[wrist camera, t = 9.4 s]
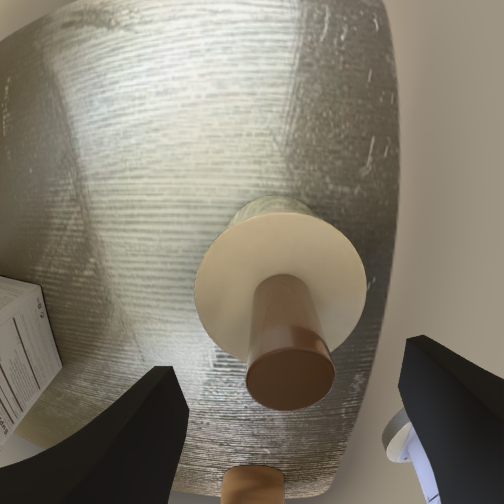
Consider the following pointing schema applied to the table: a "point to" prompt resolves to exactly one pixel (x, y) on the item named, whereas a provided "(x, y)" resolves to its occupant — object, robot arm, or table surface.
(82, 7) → the table surface
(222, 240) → the lid
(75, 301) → the table surface
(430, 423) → the robot arm
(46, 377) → the white product box
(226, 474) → the stand
